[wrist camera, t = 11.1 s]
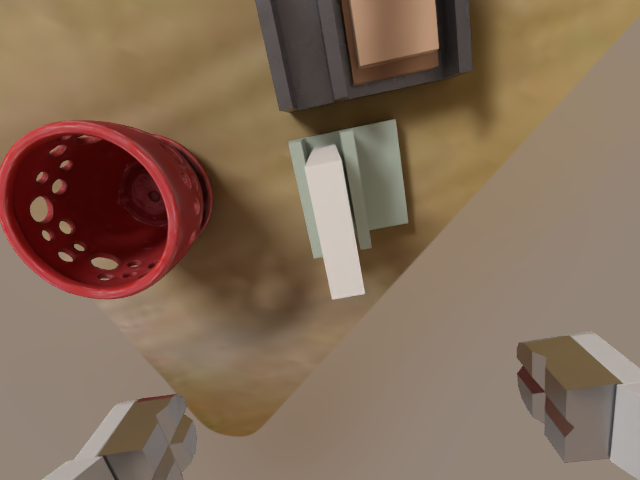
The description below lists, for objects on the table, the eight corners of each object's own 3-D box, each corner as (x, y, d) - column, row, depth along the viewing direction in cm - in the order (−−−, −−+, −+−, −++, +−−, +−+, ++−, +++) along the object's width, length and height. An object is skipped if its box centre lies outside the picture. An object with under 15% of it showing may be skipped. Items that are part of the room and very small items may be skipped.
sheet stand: (392, 119, 33) (407, 118, 27) (405, 219, 36) (421, 239, 30) (290, 140, 34) (282, 144, 28) (311, 236, 37) (308, 259, 31)
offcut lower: (420, -55, 28) (427, -68, 26) (431, 68, 31) (438, 65, 29) (333, -34, 28) (334, -45, 26) (352, 86, 31) (354, 83, 29)
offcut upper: (422, -50, 26) (429, -63, 24) (431, 53, 28) (439, 48, 26) (343, -31, 27) (344, -42, 25) (358, 69, 29) (360, 65, 27)
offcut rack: (438, -67, 29) (475, -128, 22) (449, 78, 32) (483, 66, 25) (260, -23, 30) (240, -67, 23) (289, 112, 33) (279, 110, 26)
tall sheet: (334, 142, 33) (341, 159, 18) (349, 223, 35) (365, 293, 21) (313, 147, 33) (304, 167, 19) (329, 227, 35) (332, 299, 21)
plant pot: (246, 222, 37) (211, 268, 26) (139, 264, 39) (61, 324, 27) (186, 98, 33) (114, 87, 22) (70, 151, 35) (-53, 166, 23)
